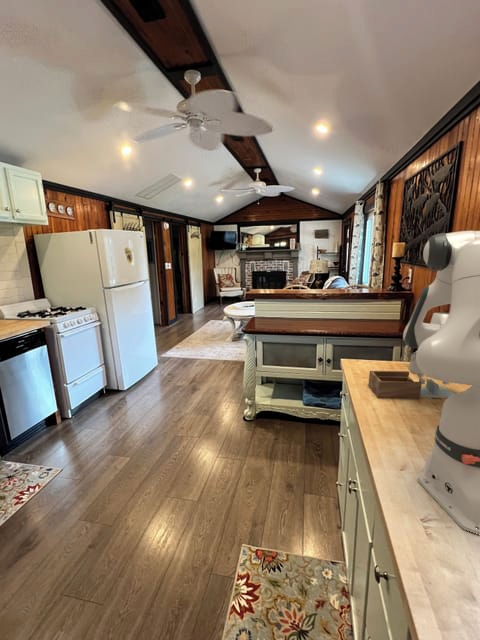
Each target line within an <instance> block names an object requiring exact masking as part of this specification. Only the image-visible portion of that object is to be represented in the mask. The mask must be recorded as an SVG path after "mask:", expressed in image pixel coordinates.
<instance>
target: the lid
mask: <svg viewBox="0 0 480 640" xmlns="http://www.w3.org/2000/svg"><path fill="white" fill-rule="evenodd" d="M453 394H456V393H455V392H454V391H452V390H451V389H450V388H448V387H446V386H440V385H439V384H438V383H436V382H435V381H434V380H433V378H427V379H426V384H425V386H421V391H420V398H431V399H433V398H436V399H437V398H439V399H440V398H441V399H445V398H446V399H447V398H448V397H449V396H451V395H453Z"/></svg>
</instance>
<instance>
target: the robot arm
mask: <svg viewBox="0 0 480 640" xmlns="http://www.w3.org/2000/svg"><path fill="white" fill-rule="evenodd" d="M422 253H423V254H422V255H423V256H422V257H423V261H424V262H425V266H426V267H427V268H428V269H429V270H432V271H437V272H436V277H435V279H434V281H433V282H432V283H430V285H427V286H424V288H423V289H422V290H421V292H420V293H419V296H418V298H417V301H416V303H415V306H414V309H413V311H412V314H411V316H410V317H409V320H408V322H407V324H406V326H405V328H404V330H403V332H402V333H403V335H402V339H403V342H404V343H405V344H406V345H407V346H408V347H409V348H410V349H417V350H416V351H415V352H413V353H411V355H410V361H409V364H408V371H409V373H411V374H413V375H417V377H418V379H419V380H418V382H421V383H422V385H426V384H425V383H426V380H425V379H424V378H423V377H424V376H425V377H427V378H429V379H432V380H433V379H434V380H437V381H440V382H442V384H443V385H449V384H450V383H451V384H458V385H464V386H465V385H467V386H470V387H468V388H467V389H465V390H463V391H461V392H456V393H455V394H453V395H451V396H449V397H448V398H446V399H445V400H444V402H443V404H442V408H441V414H440V419H439V424H438V425H437V426H436V430H435V432H434V445H433V447H431V449H430V451H429V452H428V454H427V457H426V461H425V464H424V467H423V470H422V472H421V473H420V474H419V475H418V477H417V482H418V483H419V484H420V485H421V486H422V488H424V490H425V491H426V492H427V493H428V494H429V495H430V496H431V497H432V498H433V499H434V500H435V501H436V502H437V504H439V506H440V507H442V509H443V510H444V511H445V512H446V513H447V514H448V515H449V516H450V518H452V519H453V521H454V522H455V523H456V524H457V525H458V526H459V527H460V528H461V529H463V530H465V531H466V530H467V532H469V531H470V533H471V532H473V533H472V534H474V533H477V534H480V230H462V231H461V230H460V231H453V232H448V233H446V232H442V233H441V232H440V233H437V234H434V235H431V236H430V237H429V238H428V239H427V242H426V244H425V246H424V248H423V252H422ZM444 305H450V307H449V312H441V311H436V312H434V313H433V314H432V317H431V319H430V322H429V323H427V322H426V323H425V322H424V319H425V318H426V315H427V313H428V311H430V310H432V309H433V308H436V307H440V306H444ZM476 528H477V529H476ZM477 534H476V535H477Z"/></svg>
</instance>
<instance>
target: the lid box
mask: <svg viewBox="0 0 480 640" xmlns="http://www.w3.org/2000/svg"><path fill="white" fill-rule="evenodd" d="M367 385H368V388H370V390H371V391H372V393H374V396H376V398H377V399H390V400H391V399H394V400H395V399H396V400H399V399H400V400H404V399H405V400H420V398H421V397H420V391H421V387H422V385H423V384H422V383H421V382H419V381H415V380H414V379H412V378H411V377H410V371H409V370H402V371H401V370H400V371H399V370H369V376H368V384H367Z"/></svg>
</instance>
